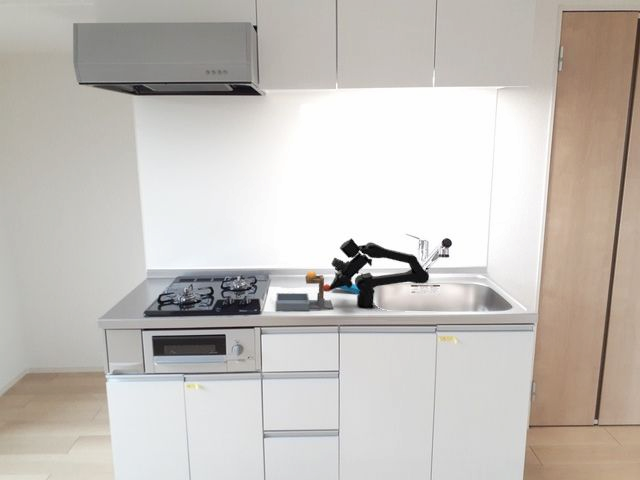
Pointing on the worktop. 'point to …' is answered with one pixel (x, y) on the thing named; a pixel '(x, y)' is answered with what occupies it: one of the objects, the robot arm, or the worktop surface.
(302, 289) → the worktop surface
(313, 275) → the ball
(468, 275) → the worktop surface
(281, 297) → the bin
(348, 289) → the lever
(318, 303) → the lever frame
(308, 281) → the brown wooden angled piece
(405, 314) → the worktop surface
